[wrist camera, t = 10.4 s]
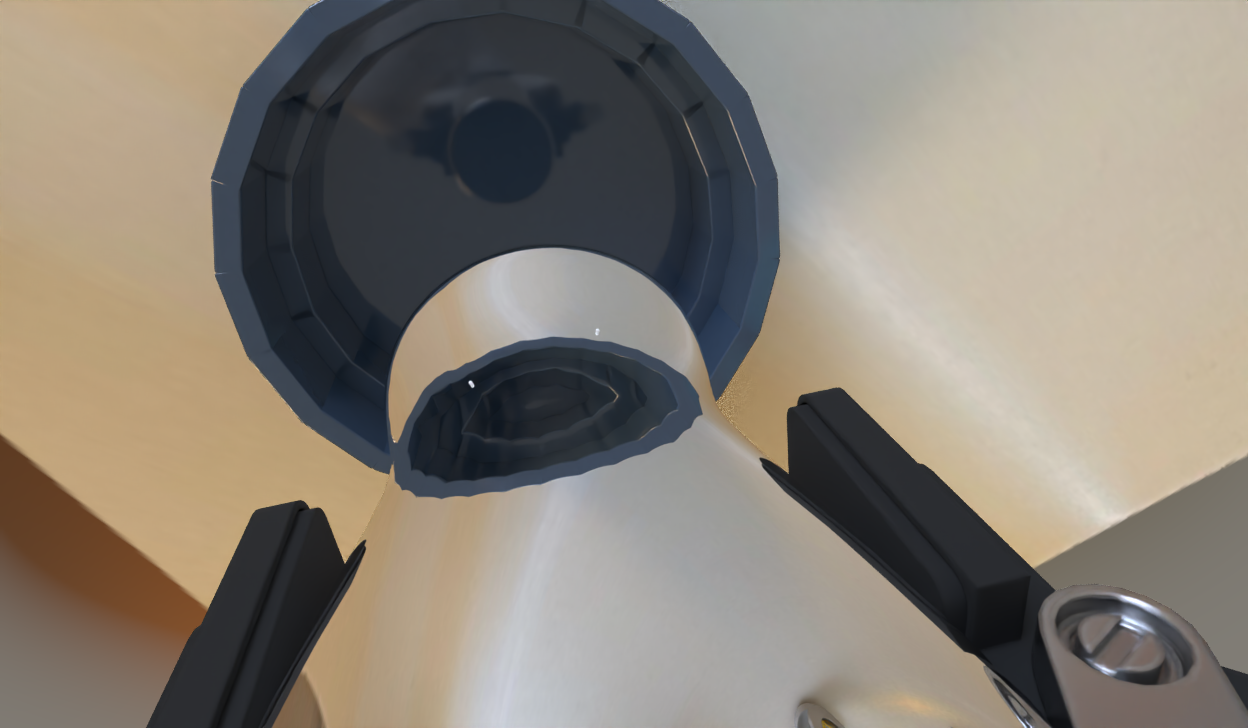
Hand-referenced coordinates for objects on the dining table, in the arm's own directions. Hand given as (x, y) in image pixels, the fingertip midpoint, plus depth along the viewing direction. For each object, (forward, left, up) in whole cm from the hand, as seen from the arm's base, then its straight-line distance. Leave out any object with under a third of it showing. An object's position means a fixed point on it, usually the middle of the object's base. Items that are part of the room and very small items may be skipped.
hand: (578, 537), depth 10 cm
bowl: (0, 0, -20) cm, 20 cm away
